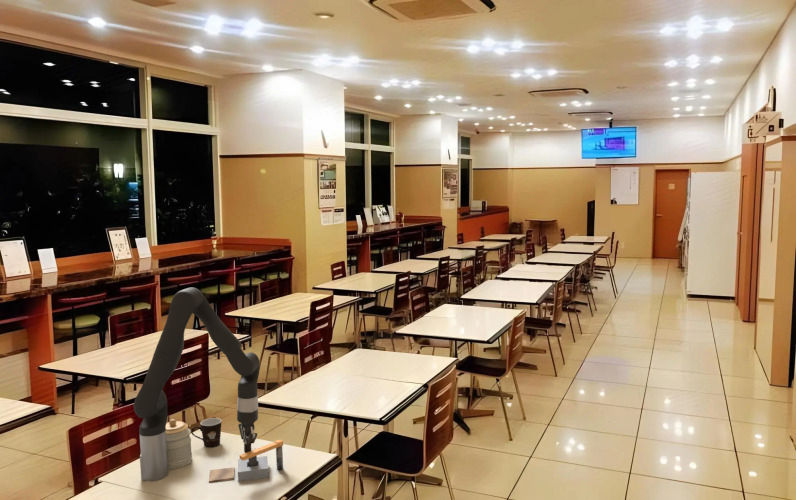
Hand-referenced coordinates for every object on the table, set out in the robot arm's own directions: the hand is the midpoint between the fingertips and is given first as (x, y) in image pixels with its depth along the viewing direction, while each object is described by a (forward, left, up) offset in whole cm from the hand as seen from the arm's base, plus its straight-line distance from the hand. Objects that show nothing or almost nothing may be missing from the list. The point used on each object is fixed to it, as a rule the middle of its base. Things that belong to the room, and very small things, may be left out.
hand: (247, 452), depth 227 cm
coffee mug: (-16, +36, -10) cm, 41 cm away
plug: (+2, +4, -10) cm, 11 cm away
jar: (-28, +22, -10) cm, 38 cm away
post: (+12, +4, -10) cm, 16 cm away
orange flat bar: (+5, 0, 0) cm, 5 cm away
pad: (-10, +5, -10) cm, 15 cm away
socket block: (+2, +4, -10) cm, 11 cm away
